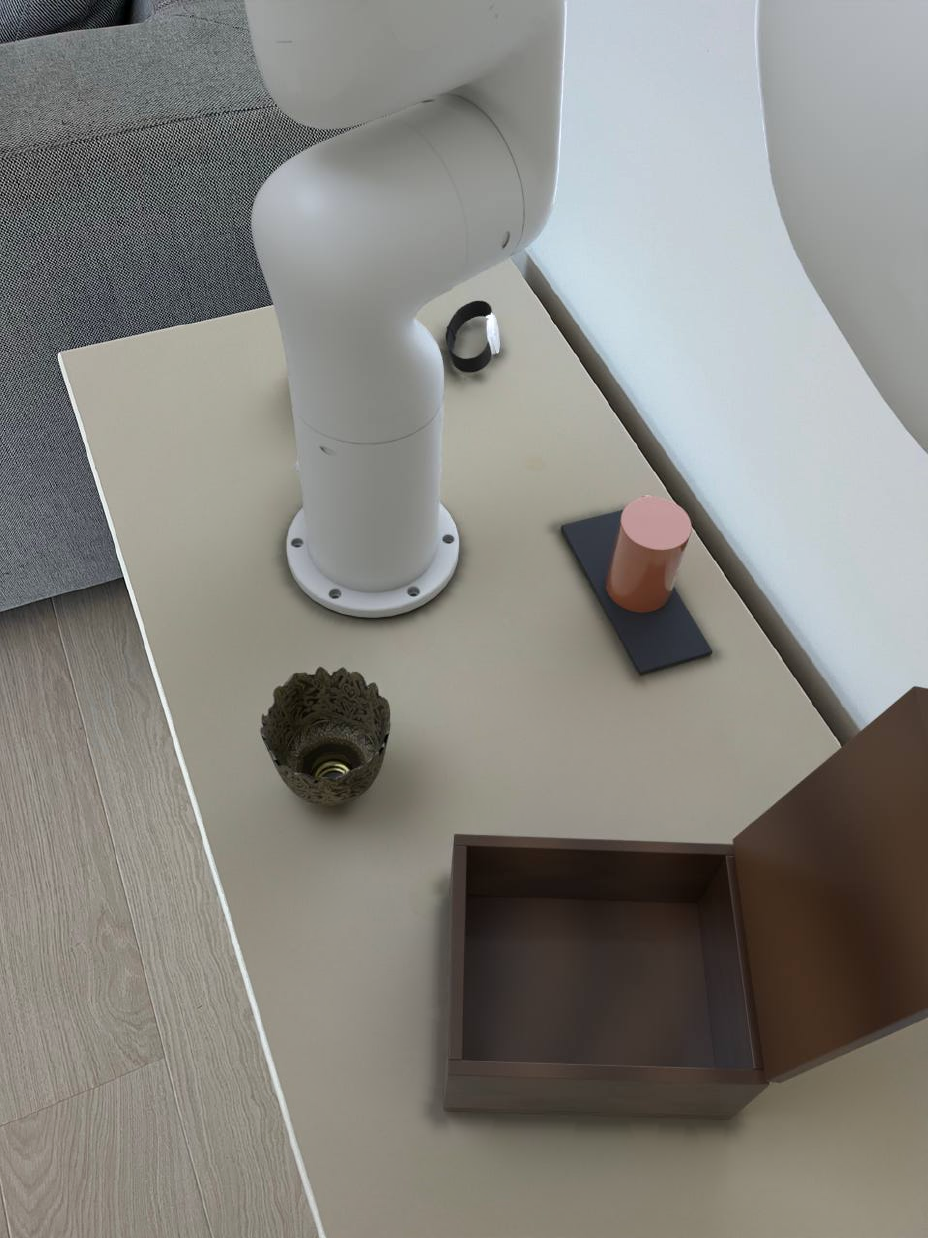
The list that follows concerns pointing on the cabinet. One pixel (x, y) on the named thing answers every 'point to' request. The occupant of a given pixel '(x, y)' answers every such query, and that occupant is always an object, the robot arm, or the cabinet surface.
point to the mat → (642, 634)
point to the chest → (598, 979)
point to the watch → (493, 343)
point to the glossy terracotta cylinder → (647, 553)
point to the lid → (841, 897)
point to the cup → (327, 734)
